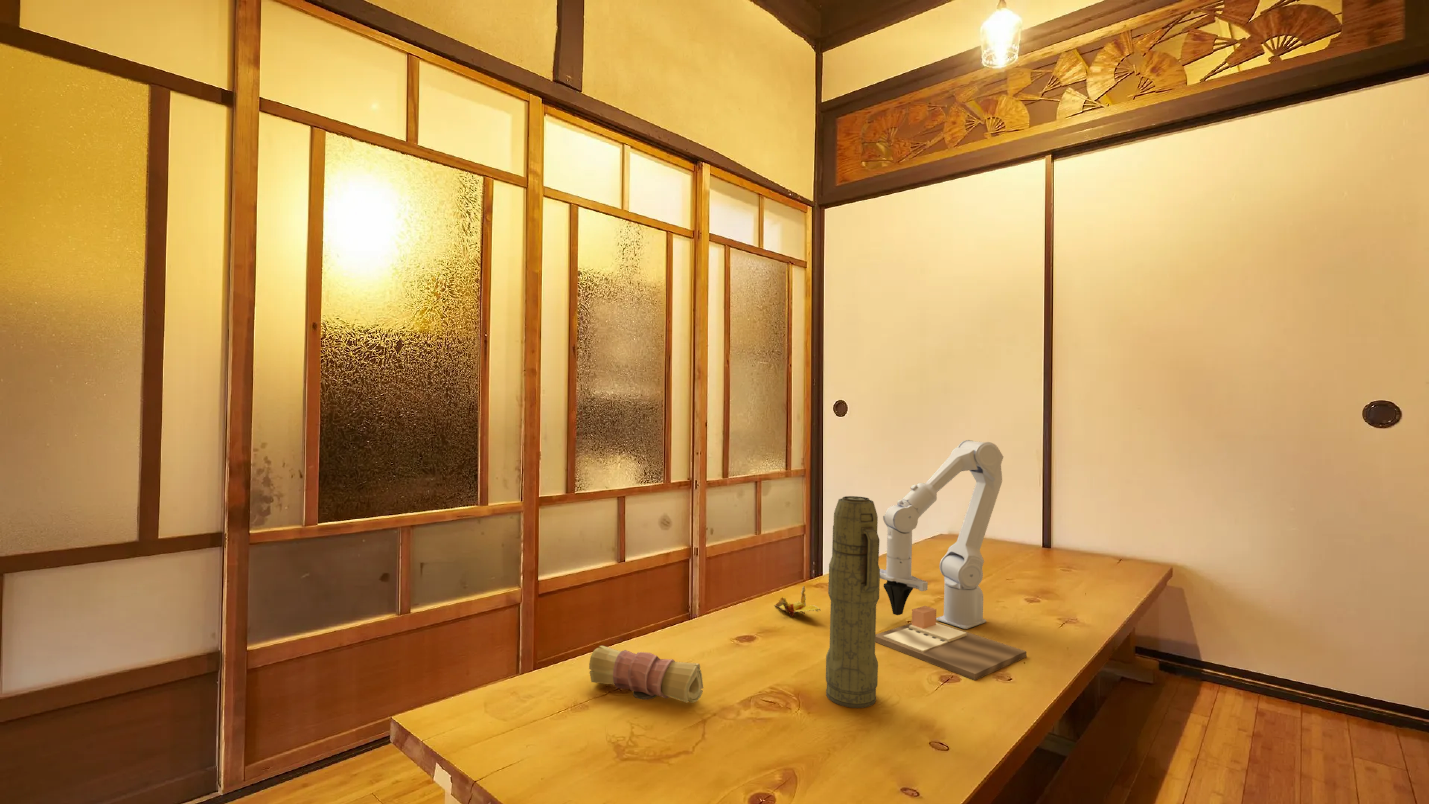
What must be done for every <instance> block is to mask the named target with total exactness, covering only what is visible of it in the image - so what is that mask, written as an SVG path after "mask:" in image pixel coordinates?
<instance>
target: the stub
mask: <svg viewBox="0 0 1429 804" xmlns="http://www.w3.org/2000/svg"><path fill="white" fill-rule="evenodd" d="M936 618H937V608H934V607H930V606H927V605H923V606H919V607H916V608H913V609H911V623H912V625H910V626H909V628H910V629H913V630H915V631H919V632H921V633H924V634H928V635H930V636H934V637H937V638H938V639H942V640H945V641H947V642H951V641H953V640H956V639H959V638H961V637H964V636H967V633H966V632H967V631H966V632H963V631H964V630H963V631H959V630H960V629H959V630H956V629H957V628H956V629H953V628H954V627H953V628H950V627H951V626H950V627H947V626H948V625H947V626H944V625H945V624H944V625H941V624H942V623H941V624H938V623H939V622H938V623H936V622H937V620H936Z"/></svg>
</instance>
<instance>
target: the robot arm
mask: <svg viewBox="0 0 1429 804" xmlns="http://www.w3.org/2000/svg"><path fill="white" fill-rule="evenodd" d="M1003 460H1004V456H1003V453H1002V451H1001V450H1000V448H999V446H997V445H996V444H995V443H993V442H990V441H985V442H984V441H974V440H970V439H966V440H962V441H961V442H960V443H959V444H958V445H957V446H956V447H955V448H953V449H952V450H951V453H950V455H948V457H947V458H946V459H945V460H944V462H943V463H941V465H940V466H939V467H938V469H937V470H936V471H935V472H934V473H933V474H932V475H931V476H930V478H929V479H927V481H926V482H918V483H917V484H912V485H911V486H910V491H909V492H907V493H906V494H905V495H904V497H902V498H901V499H898V500H897V501H896V503H897V504H893V505H890V506H889V507H888V508H887V509H886V511H885V514H884V515H883V516H882V520H883V522H884V525H885V526H886V528H887V531H886V532H887V534H886V567H885V569H883V568H880V580H881V579H882V580H885V581H886V583H883V589H884V590H885V593H886V594H887V597H888V599H889V600H888V601H889V602H890V608H891V611H892V615H894V616H900V615H903V614H904V610H905V605H906V603H907V600H908V598H909V596H910V594H911V592H912V591H913V589H916V590H918V591H919V592H925V591H928V585H929V584H928V581H926V580H923V579H921V578H919V577H916V576H913V575H912V557H913V556H912V555H913V554H912V553H913V552H912V551H913V550H912V549H913V530H916V528H917V526H918V522H919V519H920V517H922V515H923V514H925V512H926V511H927V510H928V509H929V508H930V507H931V506H932V505H933V504H934V503H935V502H936V501H937V499H938V497H937V496H938V495H937V494H938V493H939V491H941V489H943V488H944V487H945V486H947V484H949V482H951V481H952V480H953V479H955V478H956V476H958V475H959V474H960V473H962V472H967V471H969V472H970V473H971V475H972V477H973V479H974V480H975V485H974V488H973V491H972V494H971V497H970V500H969V502H968V507H967V509H966V512H965V515H964V518H963V522H962V525H961V528H960V529H959V533H958V536H957V540H956V541H955V542H954V543H953V544H952V545H950V546H949V547H948V548H947V552H946V553H945V555H944V556H943V557H942V558H941V560H940V561H939V571H940V574H941V575H942V576H943V581H944V586H943V587H944V588H943V589H944V593H943V595H944V597H943V615H941V616H938V617H937V616H936V621H938V622H940V623H941V622H942V623H943V624H944V623H945V624H946V625H947V624H948V625H949V626H954V627H957V628H959V629H962V630H968V629H971V628H973V627H974V628H975V627H976V626H979V625H982V624H984V623H987V619H984V594H983V590H982V588H981V587H980V584H981V583H982V581H983V577H984V572H983V565H984V563H985V560H984V557H983V555H982V553H981V547H982V544H983V542H984V539H985V536H986V533H987V530H988V526H989V523H990V520H991V517H992V514H993V511H994V508H995V505H996V502H997V500H998V499H997V498H998V495H999V493H1000V490H1001V486H1002V483H1003V474H1002V473H1003V472H1002V462H1003Z"/></svg>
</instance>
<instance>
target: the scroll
mask: <svg viewBox="0 0 1429 804" xmlns="http://www.w3.org/2000/svg"><path fill="white" fill-rule="evenodd" d="M589 658H590V659H589V664H588V670H590V671H589V675H590V682H591V683H597V684H606V685H614V687H615V688H617V689H623V690H630V691H632V696H633V697H634V698H636V699H639V700H650V699H651V700H652V699H654V698H655V697H656V698H657V696H658V697H661V698H663V699H668V698H673V699H675V700H678V701H680V702H684V703H686V704H687V703H688V702H689V703H692V704H694V703H697V702H698V701H699V700H700V698H701V697H702V694H703V690H704V682H703V674H702V669H701V665H700V663H697V662H683V661H682V662H681V661H675V660H674V659H672V658H671V659H669V658H664V659H663V658H660V657H659V656H658V655H655V654H654V653H652V652H646V651H645V652H644V651H643V652H642V651H638V652H637V653H634V652H631V651H629V650H627V649H623V650H617V649H615V648H611V647H608V646H605V645H598V647H596V648H595V649H594V650H592V653H591V655H590V657H589Z"/></svg>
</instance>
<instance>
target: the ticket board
mask: <svg viewBox="0 0 1429 804" xmlns="http://www.w3.org/2000/svg"><path fill="white" fill-rule="evenodd" d="M936 623H938V624H941V625H944V626H947V627H950V628H953V629H956V630H959V631H963V632H966V633H967V636H964V637H961V638H959V639H956V640H953V641H951V642H947V641H945V640H942V639H938V638H937V637H934V636H930V635H928V634H924V633H921V632H919V631H915V630H913V629H910V628H909V626H910V625H912V622H910V623H907V624H904V625H901V626H898V627H895V628H894V627H893V628H892V629H888V630H885V631H882V632H878V633H876V634H875V643H877V644H880V645H883V646H884V647H886V648H890V649H893V650H894V651H898V652H901V653H903V654H905V655H908V656H911V657H914V658H916V659H918V660H921V661H924V662H927V663H929V664H932V665H934V666H937V667H939V668H942V669H945V670H947V671H949V672H953V673H954V674H955V673H956V674H957V675H960V676H963V677H966V678H968V679H971V680H974V681H976V680H979V679H981V678H983V677H985V676H987V675H989V674H991V673H995V672H997V671H999V670H1000V669H1003V668H1005V667H1007V666H1010V665H1011V664H1014V663H1016V662H1018V661H1021V660H1022V659H1024V658H1026V657H1027V650H1024V649H1021V648H1017V647H1015V646H1012V645H1008V644H1005V643H1004V642H999V641H997V640H992V639H989V638H987V637H984V636H981V635H979V634H978V635H977V634H975V633H972V632H969V631H966V630H964V629H960V628H956V627H952V626H951V625H947V624H944V623H941V622H939V621H938V622H937V621H936Z"/></svg>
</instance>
